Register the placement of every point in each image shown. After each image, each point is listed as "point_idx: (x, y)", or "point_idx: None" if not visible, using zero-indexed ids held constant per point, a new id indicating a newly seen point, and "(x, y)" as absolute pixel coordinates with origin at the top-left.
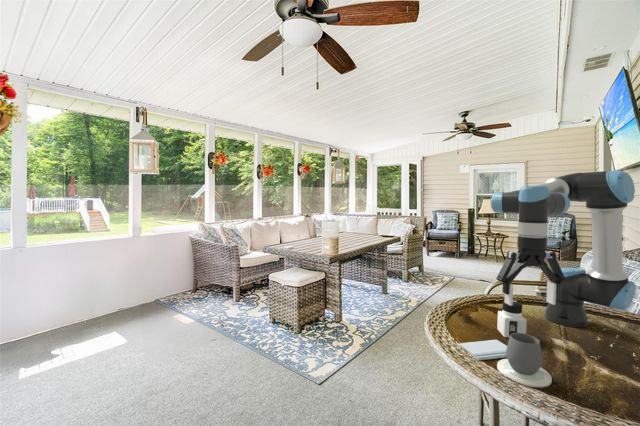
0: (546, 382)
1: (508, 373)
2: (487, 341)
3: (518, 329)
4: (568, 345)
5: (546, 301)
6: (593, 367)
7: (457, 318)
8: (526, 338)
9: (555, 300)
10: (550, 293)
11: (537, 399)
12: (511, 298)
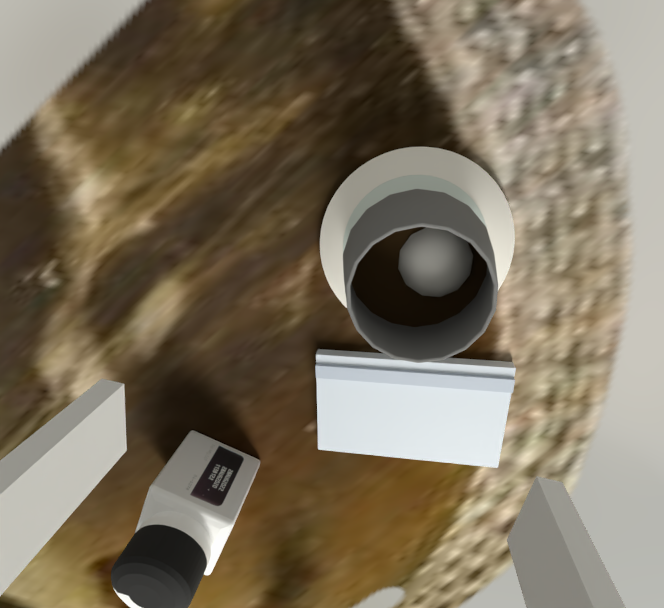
0: (398, 155)
1: (495, 244)
2: (366, 448)
3: (202, 465)
4: (74, 358)
5: (126, 450)
6: (107, 219)
7: (323, 600)
8: (361, 323)
9: (74, 402)
10: (51, 489)
11: (528, 77)
12: (580, 548)
